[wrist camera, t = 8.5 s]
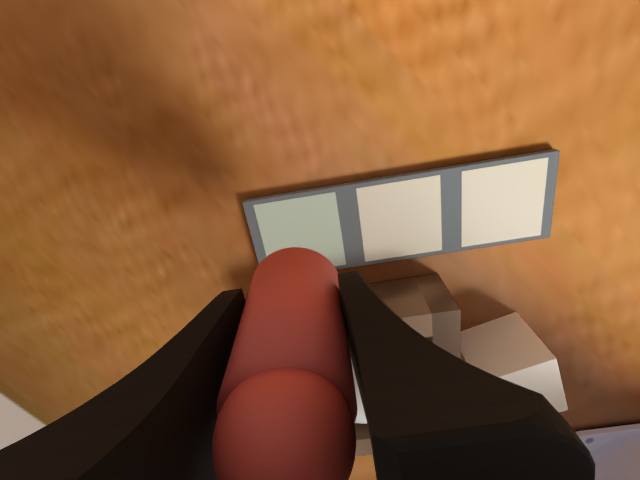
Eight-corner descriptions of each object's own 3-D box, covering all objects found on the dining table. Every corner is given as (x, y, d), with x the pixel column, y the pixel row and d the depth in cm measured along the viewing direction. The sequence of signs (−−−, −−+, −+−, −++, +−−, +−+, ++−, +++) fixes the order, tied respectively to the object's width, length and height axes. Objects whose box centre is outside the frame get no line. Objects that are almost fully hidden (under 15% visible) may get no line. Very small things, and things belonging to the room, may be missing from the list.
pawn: (333, 240, 12) (360, 444, 5) (345, 316, 13) (379, 555, 6) (242, 254, 12) (159, 469, 5) (263, 328, 13) (215, 573, 7)
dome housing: (437, 273, 18) (460, 309, 15) (441, 395, 21) (460, 443, 19) (270, 298, 18) (263, 337, 15) (301, 414, 22) (299, 463, 19)
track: (553, 148, 15) (560, 150, 15) (544, 234, 17) (550, 237, 17) (243, 199, 16) (242, 202, 16) (264, 276, 18) (263, 281, 17)
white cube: (515, 310, 19) (556, 358, 16) (528, 357, 20) (568, 410, 17) (451, 333, 20) (478, 384, 16) (467, 377, 21) (495, 431, 18)
